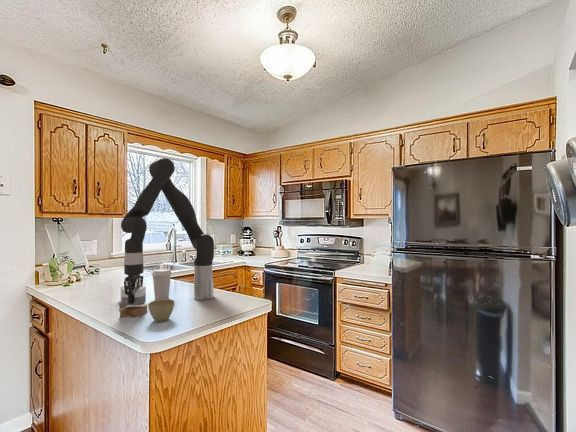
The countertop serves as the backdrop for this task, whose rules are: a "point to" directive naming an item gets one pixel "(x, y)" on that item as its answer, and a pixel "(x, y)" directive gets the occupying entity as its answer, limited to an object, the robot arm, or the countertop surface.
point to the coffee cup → (161, 283)
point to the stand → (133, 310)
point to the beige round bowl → (161, 309)
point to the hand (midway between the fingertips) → (134, 301)
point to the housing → (135, 296)
